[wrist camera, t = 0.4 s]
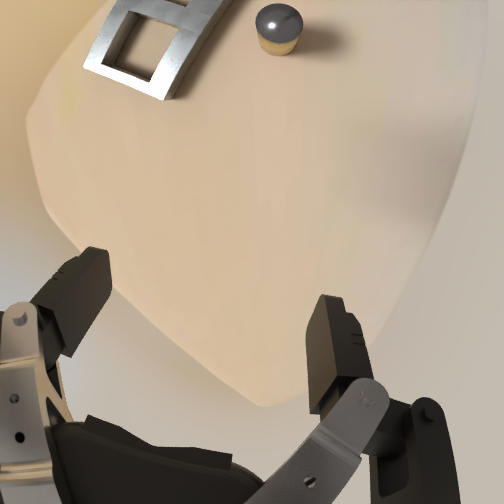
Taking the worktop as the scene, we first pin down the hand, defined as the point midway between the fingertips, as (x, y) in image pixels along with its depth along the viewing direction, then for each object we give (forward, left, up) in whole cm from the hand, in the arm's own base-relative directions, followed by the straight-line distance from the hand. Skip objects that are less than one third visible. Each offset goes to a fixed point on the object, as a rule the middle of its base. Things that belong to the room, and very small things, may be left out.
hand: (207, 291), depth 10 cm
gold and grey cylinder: (-13, -5, -26) cm, 29 cm away
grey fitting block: (-10, -18, -26) cm, 33 cm away
